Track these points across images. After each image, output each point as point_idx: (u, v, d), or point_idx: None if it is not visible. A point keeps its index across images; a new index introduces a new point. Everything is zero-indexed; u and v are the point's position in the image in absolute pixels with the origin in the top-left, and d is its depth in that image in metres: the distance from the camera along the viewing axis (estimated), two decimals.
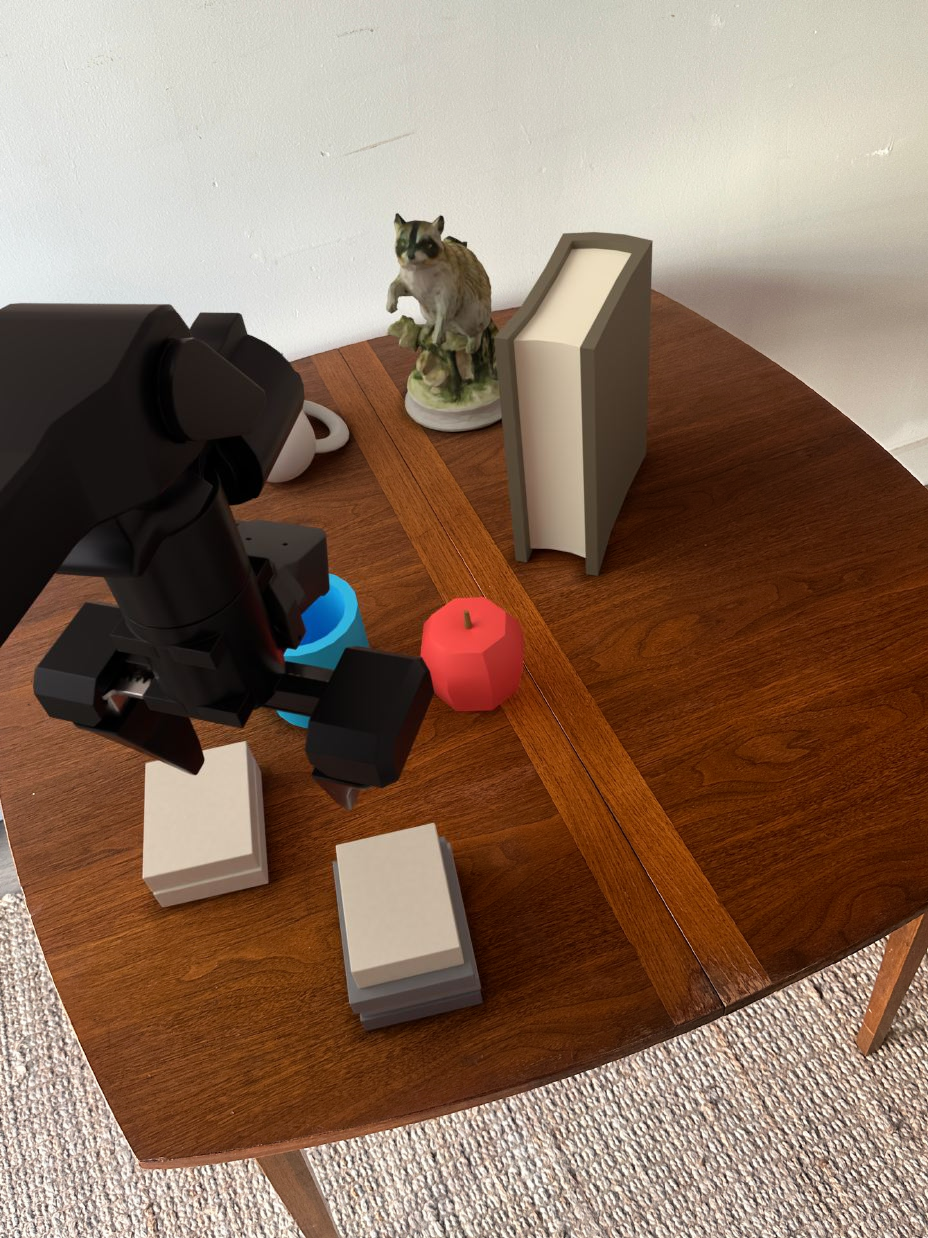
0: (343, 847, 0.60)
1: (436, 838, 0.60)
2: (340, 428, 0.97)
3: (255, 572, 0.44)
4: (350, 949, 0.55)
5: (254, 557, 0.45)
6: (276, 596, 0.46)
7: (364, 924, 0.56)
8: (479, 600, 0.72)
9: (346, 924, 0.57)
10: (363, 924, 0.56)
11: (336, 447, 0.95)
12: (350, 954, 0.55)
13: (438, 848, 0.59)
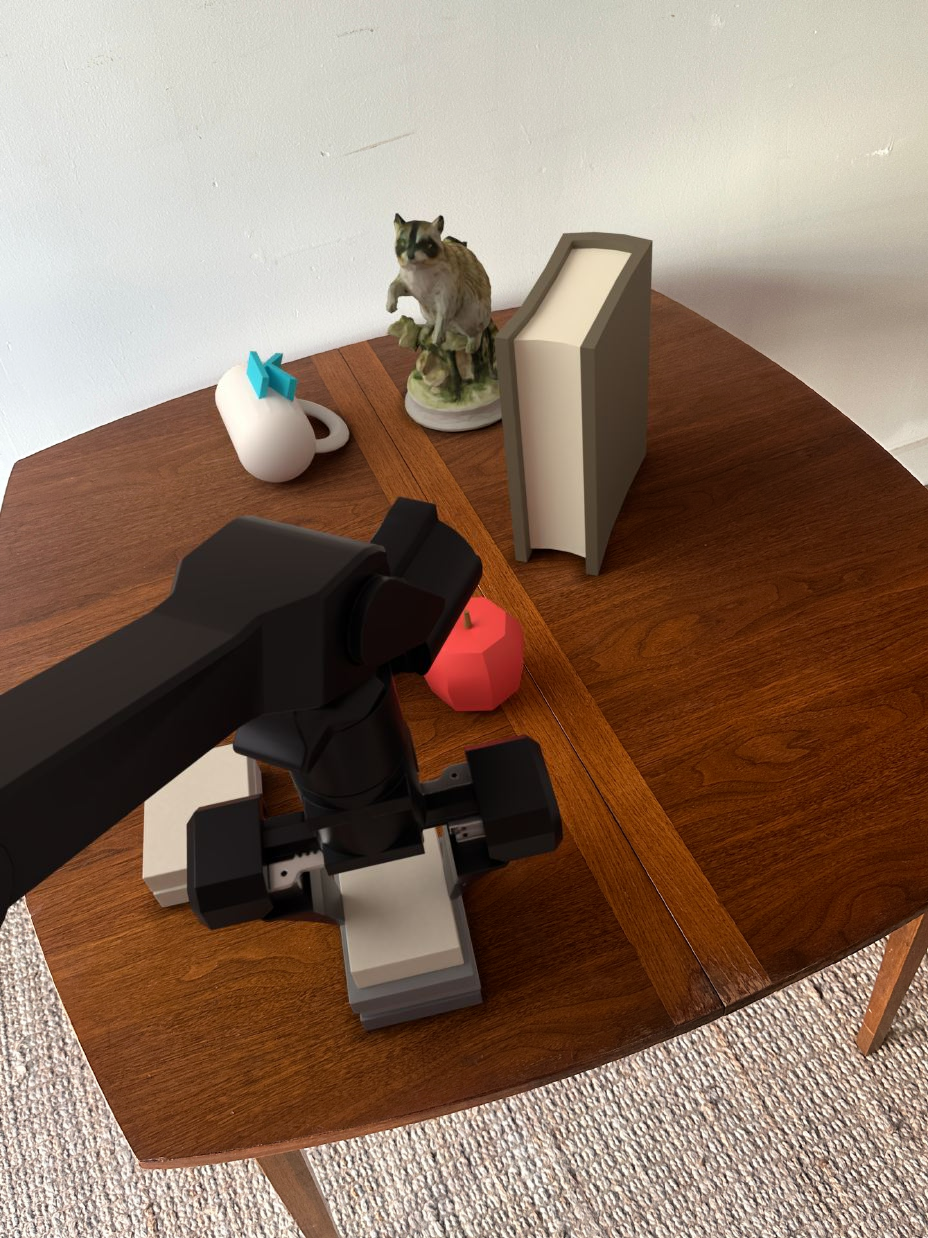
0: None
1: (436, 838, 0.60)
2: (340, 428, 0.97)
3: None
4: (350, 949, 0.55)
5: None
6: None
7: (363, 924, 0.56)
8: (479, 600, 0.72)
9: (346, 924, 0.57)
10: (363, 925, 0.56)
11: (336, 447, 0.95)
12: (350, 954, 0.55)
13: (438, 848, 0.59)
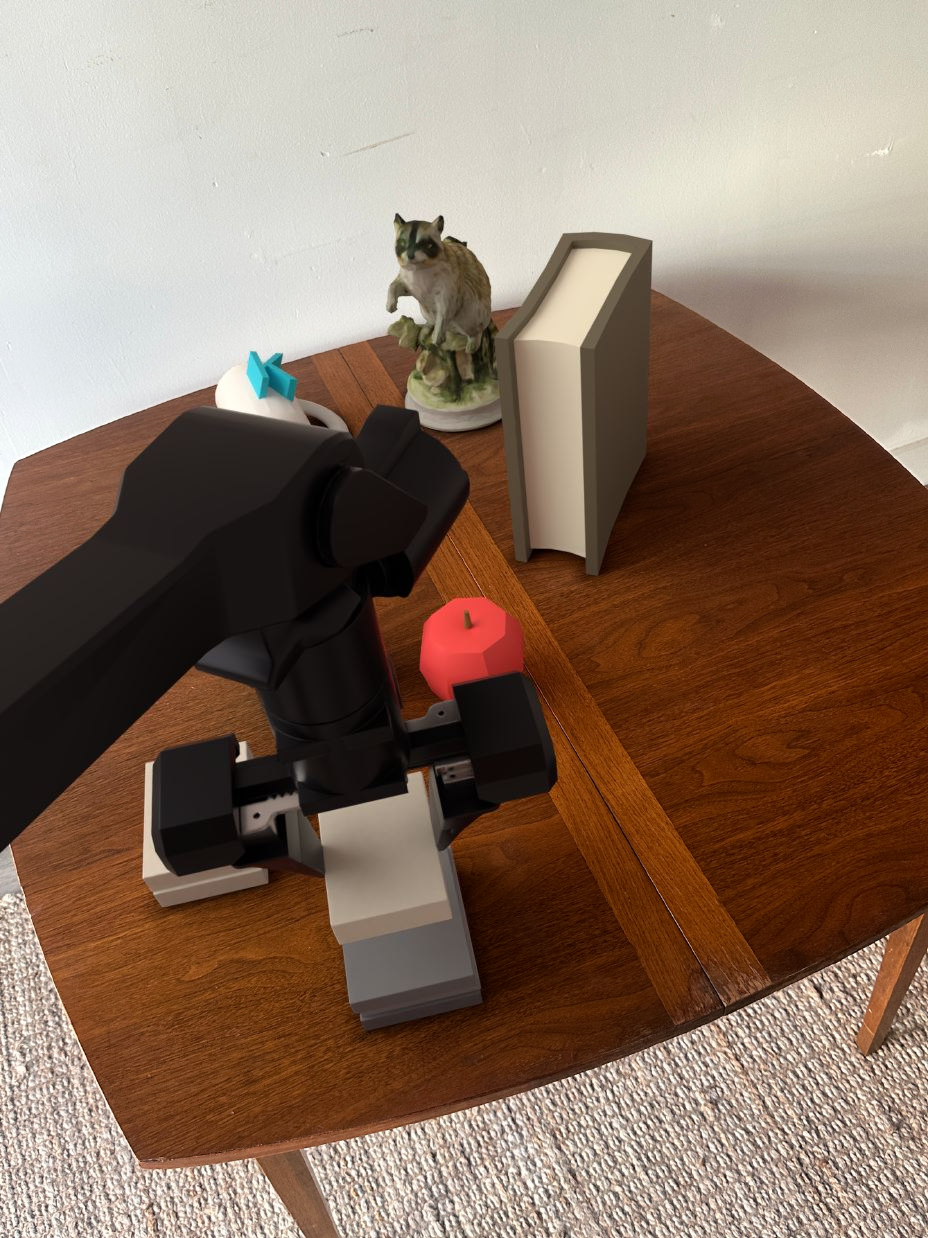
0: None
1: (423, 787, 0.56)
2: (340, 428, 0.97)
3: None
4: (330, 902, 0.52)
5: None
6: None
7: (345, 875, 0.53)
8: (479, 600, 0.72)
9: (326, 876, 0.53)
10: (344, 877, 0.53)
11: None
12: (330, 907, 0.52)
13: (425, 797, 0.55)
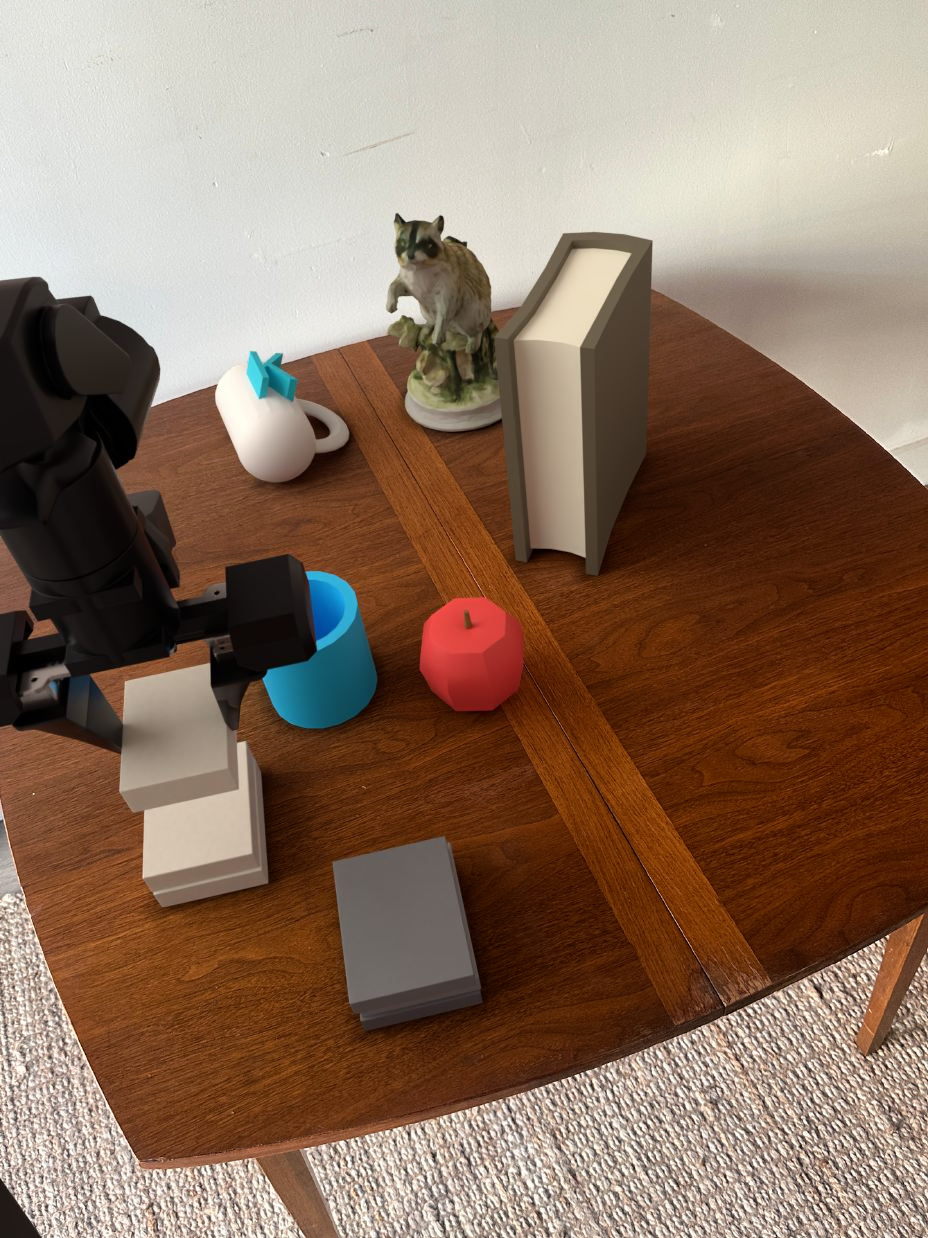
0: (131, 682, 0.60)
1: None
2: (340, 428, 0.97)
3: None
4: (122, 771, 0.56)
5: None
6: (152, 539, 0.51)
7: (139, 749, 0.57)
8: (479, 600, 0.72)
9: (122, 750, 0.57)
10: (138, 750, 0.57)
11: (336, 447, 0.95)
12: (121, 776, 0.56)
13: None
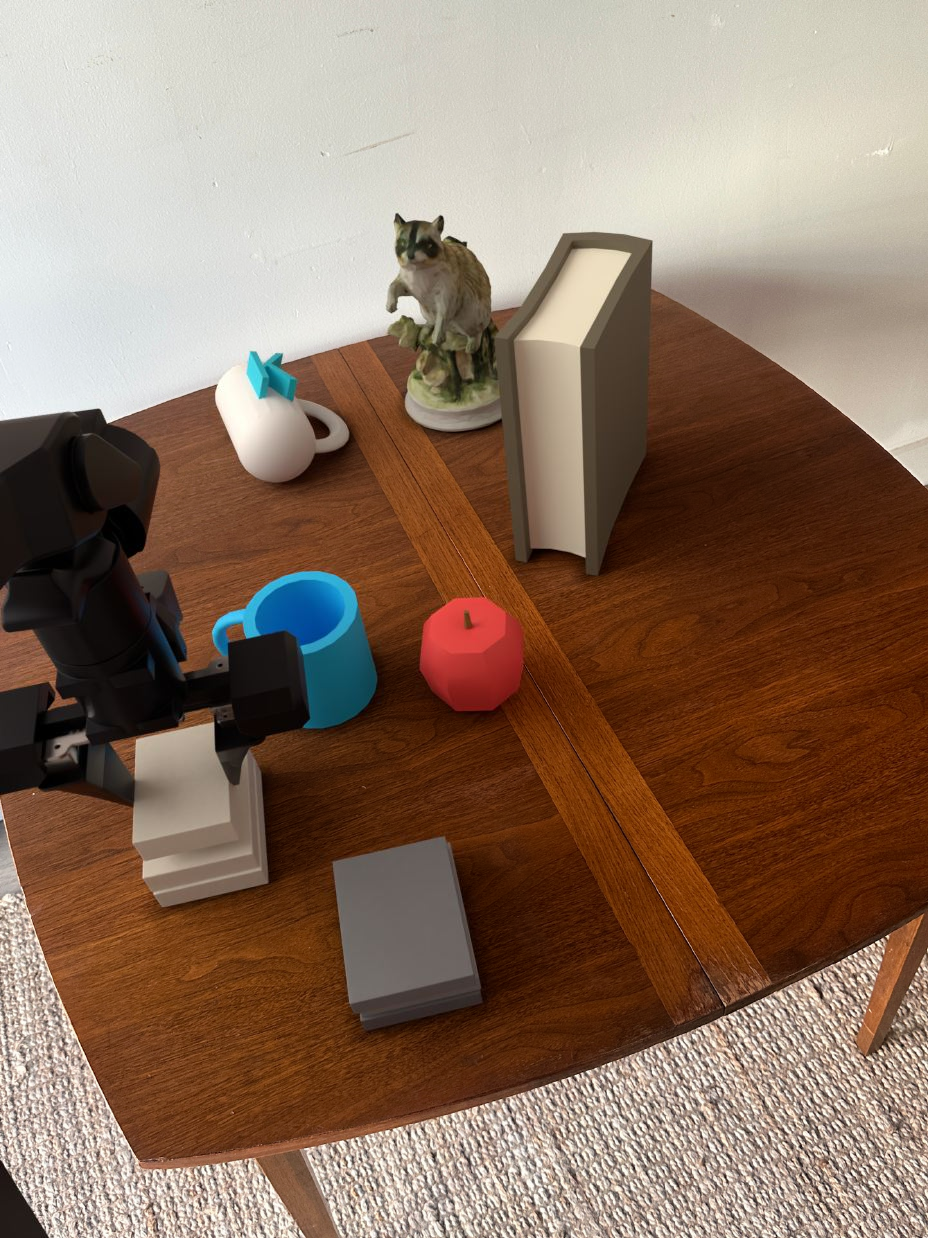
0: (142, 740, 0.66)
1: None
2: (340, 428, 0.97)
3: None
4: (134, 824, 0.62)
5: None
6: (163, 620, 0.57)
7: (150, 803, 0.63)
8: (479, 600, 0.72)
9: (134, 804, 0.63)
10: (149, 804, 0.63)
11: (336, 447, 0.95)
12: (133, 828, 0.62)
13: None
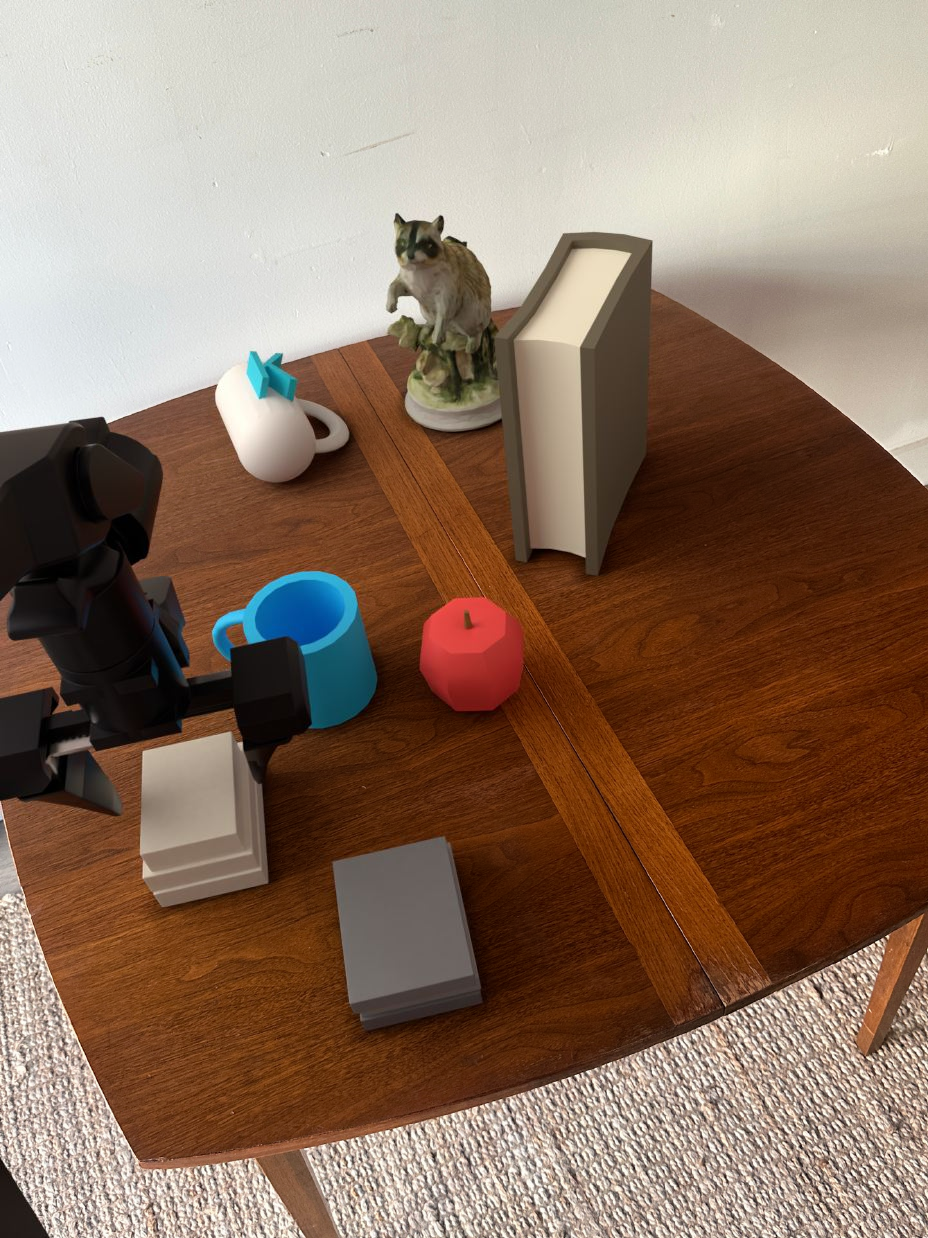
0: (148, 752, 0.67)
1: (230, 744, 0.67)
2: (340, 428, 0.97)
3: None
4: (141, 836, 0.63)
5: None
6: (166, 626, 0.58)
7: (157, 815, 0.64)
8: (479, 600, 0.72)
9: (141, 815, 0.64)
10: (156, 816, 0.64)
11: (336, 447, 0.95)
12: (141, 840, 0.63)
13: (231, 752, 0.67)
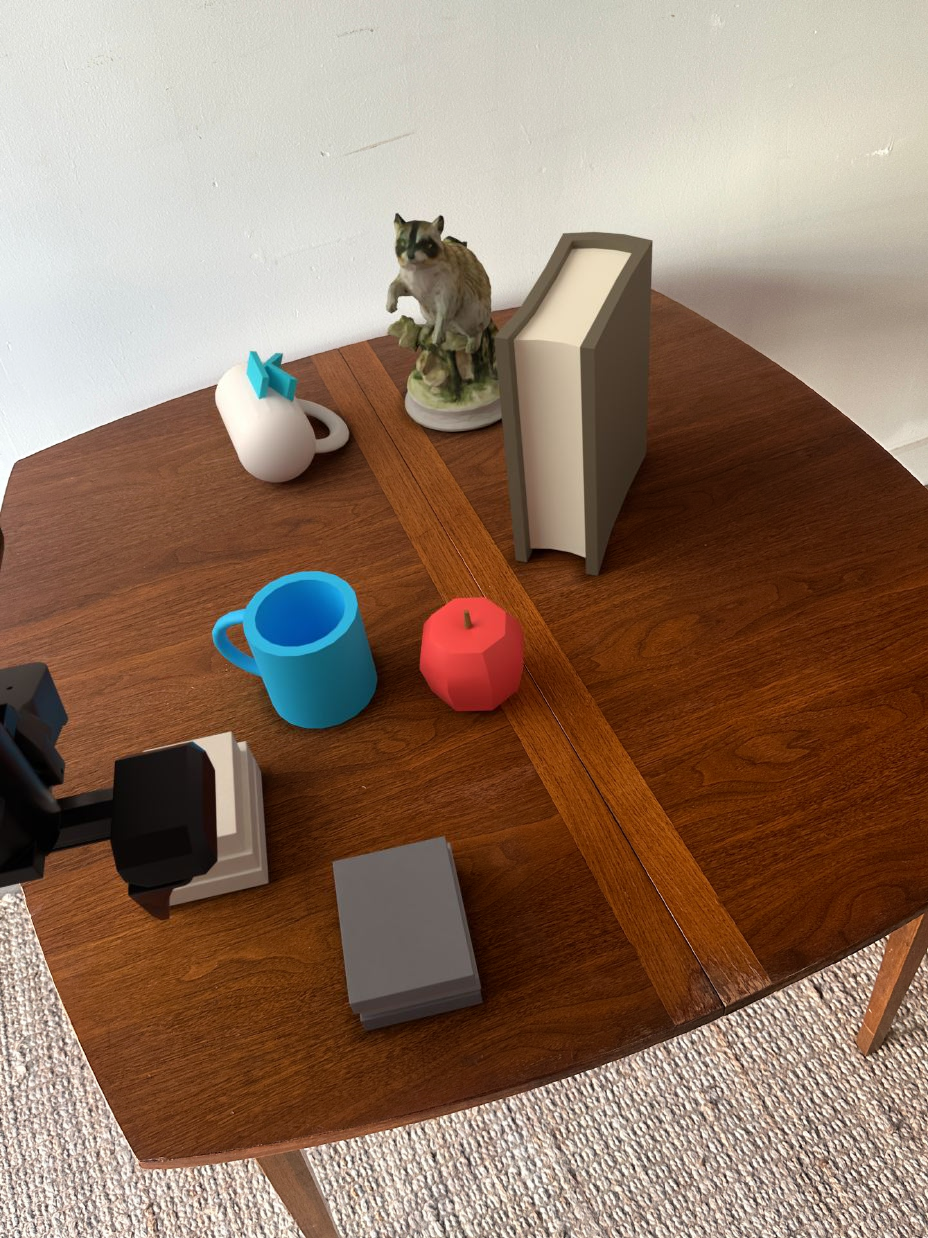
0: None
1: (230, 744, 0.67)
2: (340, 428, 0.97)
3: (0, 720, 0.43)
4: None
5: None
6: (27, 737, 0.45)
7: None
8: (479, 600, 0.72)
9: None
10: None
11: (336, 447, 0.95)
12: None
13: (231, 752, 0.67)
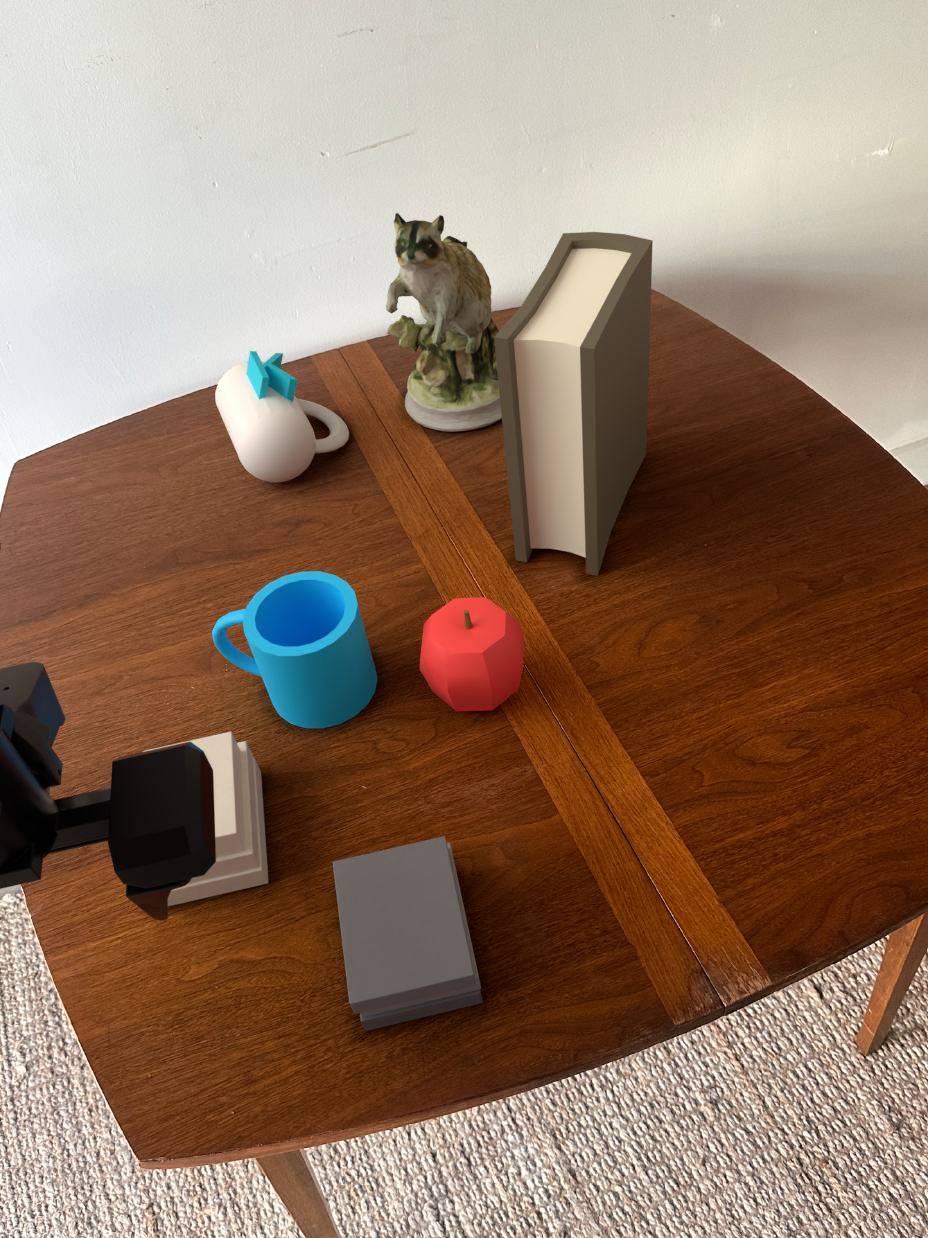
0: None
1: (230, 744, 0.67)
2: (340, 428, 0.97)
3: None
4: None
5: None
6: (24, 738, 0.44)
7: None
8: (479, 600, 0.72)
9: None
10: None
11: (336, 447, 0.95)
12: None
13: (231, 752, 0.67)
